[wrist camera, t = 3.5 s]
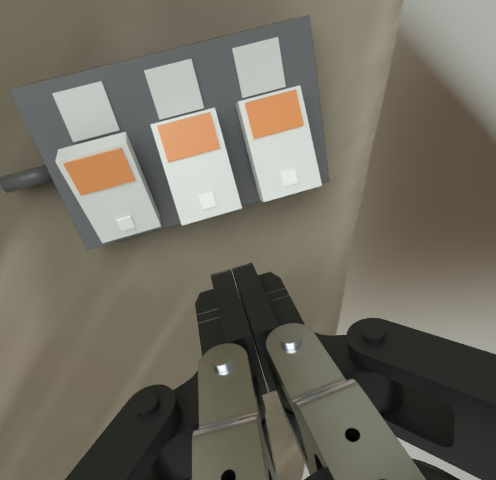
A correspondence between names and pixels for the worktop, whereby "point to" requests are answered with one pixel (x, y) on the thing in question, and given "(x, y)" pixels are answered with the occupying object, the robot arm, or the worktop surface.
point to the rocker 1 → (109, 186)
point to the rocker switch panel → (168, 108)
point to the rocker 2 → (279, 143)
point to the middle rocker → (197, 166)
